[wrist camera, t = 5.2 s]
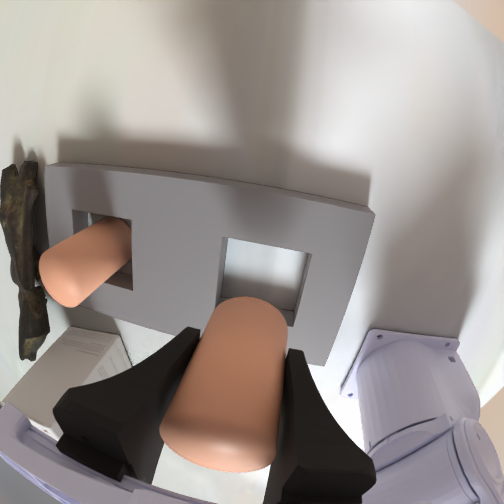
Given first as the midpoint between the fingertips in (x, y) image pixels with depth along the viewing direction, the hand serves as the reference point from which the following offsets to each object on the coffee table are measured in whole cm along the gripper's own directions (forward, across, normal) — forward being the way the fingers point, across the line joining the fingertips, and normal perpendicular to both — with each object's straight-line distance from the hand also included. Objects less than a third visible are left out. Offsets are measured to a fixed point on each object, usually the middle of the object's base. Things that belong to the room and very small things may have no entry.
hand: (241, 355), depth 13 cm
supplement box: (+9, +15, +14) cm, 22 cm away
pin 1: (+9, +12, 0) cm, 15 cm away
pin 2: (+2, 0, 0) cm, 2 cm away
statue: (+9, +22, +4) cm, 24 cm away
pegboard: (+9, +6, 0) cm, 11 cm away
